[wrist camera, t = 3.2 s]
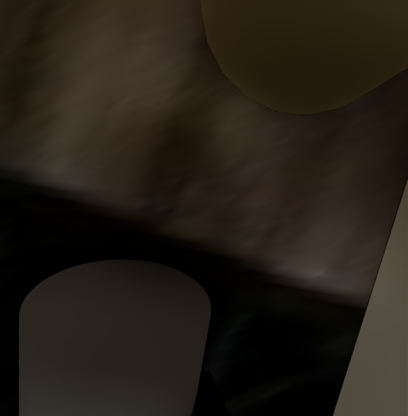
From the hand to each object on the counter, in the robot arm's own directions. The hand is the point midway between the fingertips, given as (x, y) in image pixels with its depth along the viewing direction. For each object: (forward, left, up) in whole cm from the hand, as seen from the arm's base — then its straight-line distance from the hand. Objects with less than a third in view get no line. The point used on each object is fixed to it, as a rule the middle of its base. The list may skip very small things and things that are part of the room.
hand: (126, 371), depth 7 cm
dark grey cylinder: (0, 0, +1) cm, 1 cm away
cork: (+11, -3, -2) cm, 12 cm away
